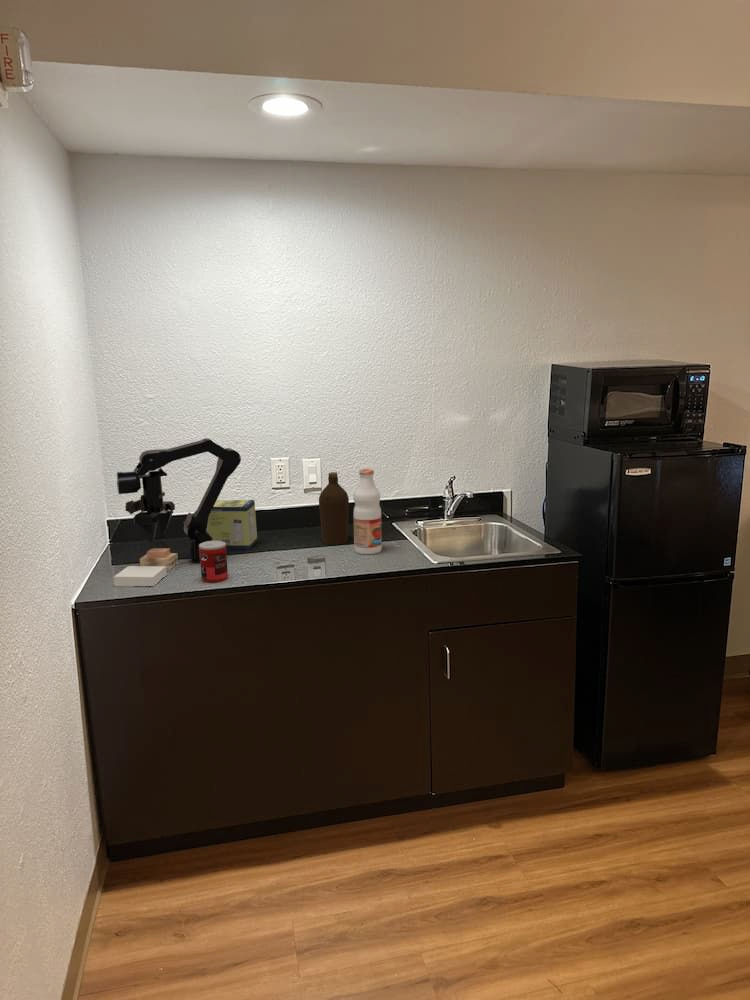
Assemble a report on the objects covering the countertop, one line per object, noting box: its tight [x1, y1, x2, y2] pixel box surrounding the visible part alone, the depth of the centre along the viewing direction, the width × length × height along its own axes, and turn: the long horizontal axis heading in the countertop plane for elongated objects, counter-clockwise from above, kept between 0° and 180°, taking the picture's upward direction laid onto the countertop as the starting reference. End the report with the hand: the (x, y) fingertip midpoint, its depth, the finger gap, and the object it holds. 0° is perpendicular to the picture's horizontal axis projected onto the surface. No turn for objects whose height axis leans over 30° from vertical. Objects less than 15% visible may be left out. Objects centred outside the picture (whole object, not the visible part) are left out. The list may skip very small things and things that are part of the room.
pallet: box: [139, 552, 179, 570], centre depth 220 cm, size 10×6×4 cm, turn 85°
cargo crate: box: [146, 547, 171, 558], centre depth 220 cm, size 6×4×2 cm, turn 85°
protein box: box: [206, 499, 258, 551], centre depth 241 cm, size 10×16×16 cm
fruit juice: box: [352, 468, 383, 555], centre depth 230 cm, size 9×9×28 cm
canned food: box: [199, 541, 229, 583], centre depth 207 cm, size 8×8×11 cm
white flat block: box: [113, 565, 168, 587], centre depth 207 cm, size 12×10×3 cm
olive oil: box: [318, 471, 350, 546], centre depth 242 cm, size 11×11×25 cm
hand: (157, 538), depth 219 cm, fingers open, 9 cm apart
